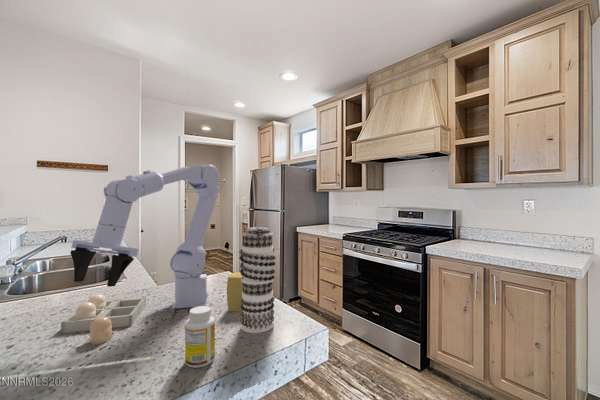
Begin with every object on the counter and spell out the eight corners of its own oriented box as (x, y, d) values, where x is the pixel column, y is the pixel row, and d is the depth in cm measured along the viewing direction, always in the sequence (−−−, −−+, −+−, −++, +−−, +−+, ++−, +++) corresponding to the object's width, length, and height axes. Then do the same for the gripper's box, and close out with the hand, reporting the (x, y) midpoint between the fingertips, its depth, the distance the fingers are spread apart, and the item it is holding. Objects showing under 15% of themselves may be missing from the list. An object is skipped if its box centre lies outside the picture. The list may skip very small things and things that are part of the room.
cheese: (234, 299, 90) (235, 268, 90) (267, 299, 90) (268, 268, 90) (226, 312, 80) (226, 277, 80) (263, 312, 80) (263, 277, 80)
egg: (114, 336, 65) (114, 312, 65) (107, 345, 61) (107, 319, 61) (94, 339, 64) (94, 314, 64) (86, 347, 60) (86, 322, 60)
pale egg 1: (98, 320, 72) (98, 299, 72) (91, 327, 68) (91, 304, 69) (80, 322, 71) (80, 300, 71) (72, 329, 67) (72, 306, 67)
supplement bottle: (205, 350, 59) (205, 302, 59) (220, 360, 55) (220, 308, 55) (179, 362, 55) (179, 310, 55) (194, 373, 51) (194, 317, 51)
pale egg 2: (108, 311, 78) (108, 291, 79) (102, 317, 75) (102, 296, 75) (91, 313, 77) (91, 292, 77) (84, 318, 74) (85, 297, 74)
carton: (145, 307, 83) (145, 297, 83) (131, 327, 69) (131, 315, 70) (87, 313, 78) (87, 302, 78) (61, 335, 65) (61, 322, 65)
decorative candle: (238, 319, 74) (238, 226, 75) (272, 316, 77) (272, 226, 77) (239, 335, 65) (240, 229, 66) (278, 331, 68) (278, 229, 68)
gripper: (69, 219, 64) (49, 280, 60) (132, 228, 64) (115, 289, 61) (90, 224, 71) (73, 278, 67) (147, 232, 71) (132, 287, 68)
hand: (94, 283), depth 64 cm, fingers open, 7 cm apart
